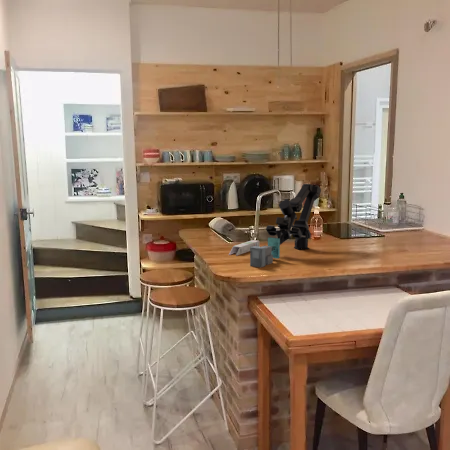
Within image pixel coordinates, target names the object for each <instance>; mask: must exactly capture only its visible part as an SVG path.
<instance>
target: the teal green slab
mask: <svg viewBox="0 0 450 450" xmlns="http://www.w3.org/2000/svg"><path fill="white" fill-rule="evenodd" d="M267 246H272V253H271V255H273V259H280V256H281V254H280V253H281V250H280V248H281V245H280V238H278V237H272V236H271V237H270V236H269V237H267Z"/></svg>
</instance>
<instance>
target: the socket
mask: <svg viewBox="0 0 450 450" xmlns="http://www.w3.org/2000/svg"><path fill="white" fill-rule="evenodd" d="M249 258H250V259H249V265H250V267H255V268H264V267H266V265H265V247H262V246H259V247H258V246H253V247H250V251H249Z"/></svg>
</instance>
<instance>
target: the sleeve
mask: <svg viewBox="0 0 450 450" xmlns="http://www.w3.org/2000/svg"><path fill="white" fill-rule="evenodd" d="M261 247H265V266H268V265H272V264H273V263H274V262H273V260H274V258H273V255H271V253H272V246H268V245H262V246H261Z"/></svg>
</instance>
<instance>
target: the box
mask: <svg viewBox="0 0 450 450" xmlns="http://www.w3.org/2000/svg"><path fill="white" fill-rule="evenodd" d="M253 246H258V247H260V240H254V239H252V240H249V241H248V240H247V241H246V242H242V243H239V244H235V245H232V247H231V249H230V251H229V253H228V256H230V255H232V254H235V257H237V256H239V255H240V256H241V255H243V254H246V253H248V252H249V253H250V247H253Z"/></svg>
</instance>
